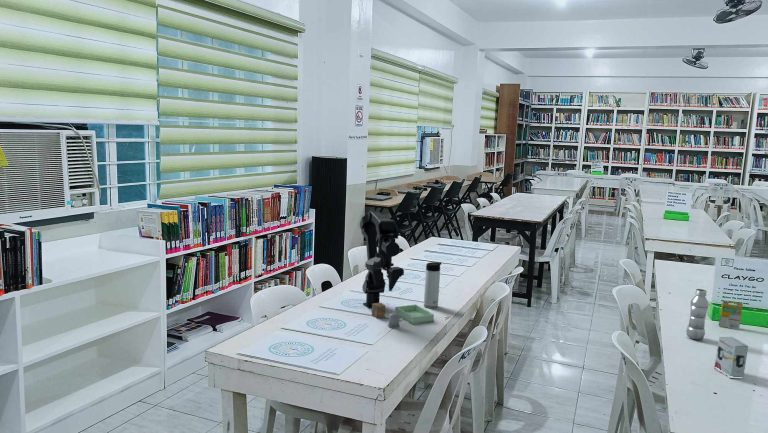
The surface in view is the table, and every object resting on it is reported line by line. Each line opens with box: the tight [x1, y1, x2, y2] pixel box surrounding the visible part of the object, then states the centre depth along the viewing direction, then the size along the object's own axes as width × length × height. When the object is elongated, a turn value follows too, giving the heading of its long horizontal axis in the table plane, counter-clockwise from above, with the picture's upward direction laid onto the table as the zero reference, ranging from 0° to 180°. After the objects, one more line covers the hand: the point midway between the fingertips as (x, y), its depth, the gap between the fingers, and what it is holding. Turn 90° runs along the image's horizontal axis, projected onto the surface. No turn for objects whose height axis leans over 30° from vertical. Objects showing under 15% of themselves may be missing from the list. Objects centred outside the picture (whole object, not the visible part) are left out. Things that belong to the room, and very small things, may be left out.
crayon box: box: [718, 300, 744, 331], centre depth 244 cm, size 7×3×12 cm, turn 65°
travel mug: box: [423, 261, 442, 310], centre depth 252 cm, size 6×7×20 cm
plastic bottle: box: [686, 288, 710, 341], centre depth 227 cm, size 6×7×20 cm
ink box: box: [714, 336, 749, 378], centre depth 196 cm, size 9×5×12 cm, turn 5°
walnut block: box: [371, 302, 386, 319], centre depth 238 cm, size 4×4×5 cm
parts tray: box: [394, 304, 435, 325], centre depth 238 cm, size 14×10×3 cm
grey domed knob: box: [387, 312, 401, 329], centre depth 226 cm, size 5×5×5 cm
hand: (383, 288), depth 235 cm, fingers open, 9 cm apart
